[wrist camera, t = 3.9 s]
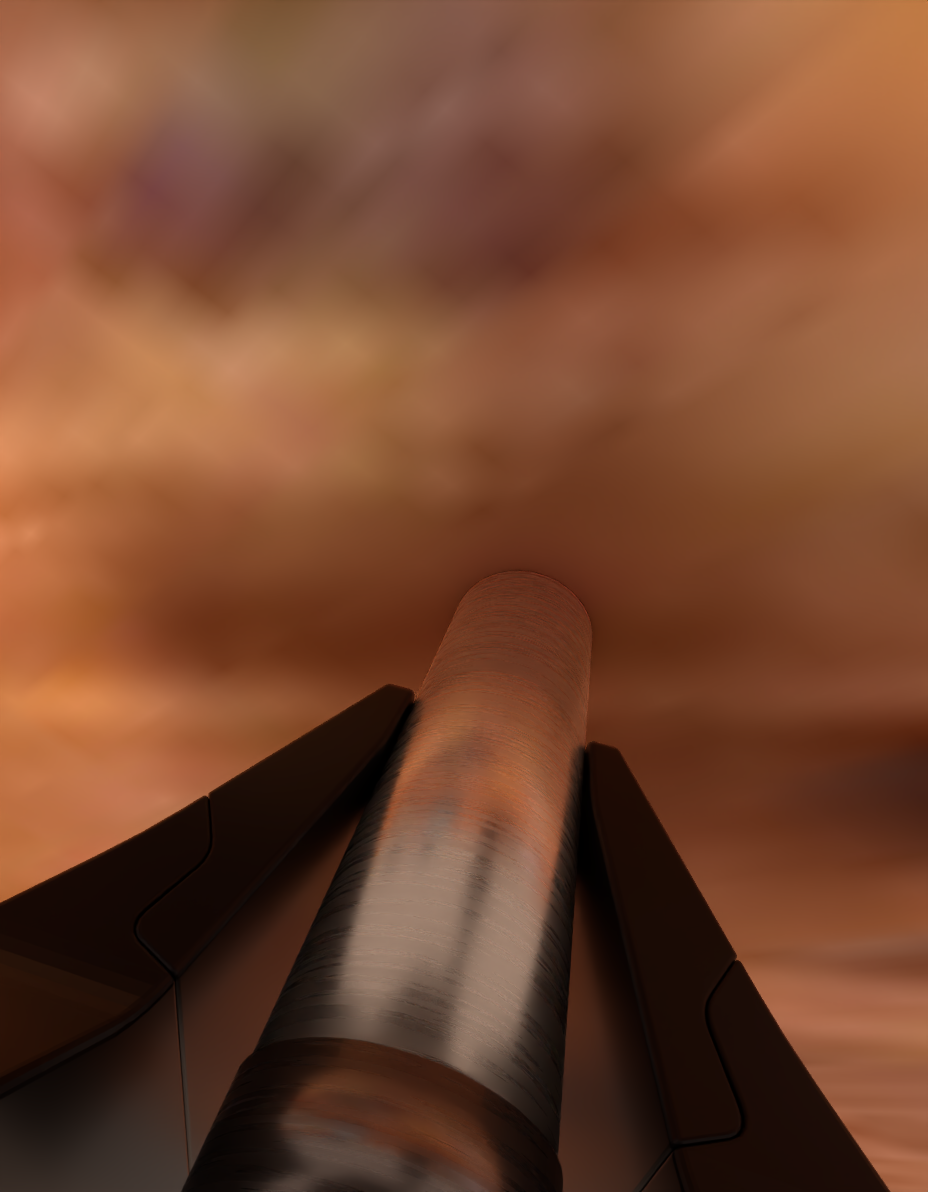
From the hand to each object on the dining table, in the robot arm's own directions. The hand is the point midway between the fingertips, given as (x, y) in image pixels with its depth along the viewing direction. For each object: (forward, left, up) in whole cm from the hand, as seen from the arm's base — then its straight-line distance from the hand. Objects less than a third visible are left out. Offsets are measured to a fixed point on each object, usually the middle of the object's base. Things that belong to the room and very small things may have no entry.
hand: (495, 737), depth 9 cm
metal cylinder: (0, 0, -3) cm, 3 cm away
